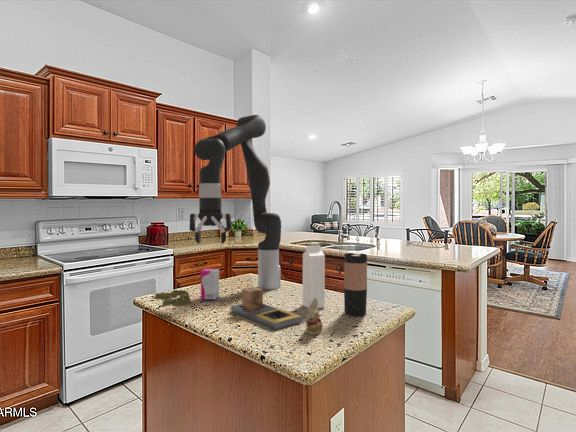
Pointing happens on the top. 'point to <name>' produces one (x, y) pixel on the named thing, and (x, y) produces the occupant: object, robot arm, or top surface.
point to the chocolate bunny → (313, 319)
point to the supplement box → (210, 284)
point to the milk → (313, 276)
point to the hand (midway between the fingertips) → (210, 243)
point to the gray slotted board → (268, 316)
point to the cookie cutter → (181, 300)
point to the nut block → (252, 298)
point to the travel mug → (355, 284)
